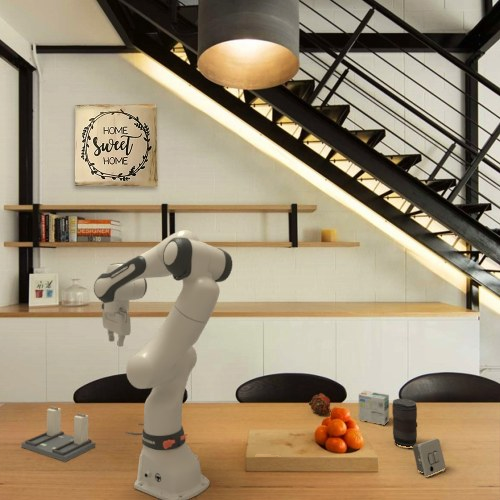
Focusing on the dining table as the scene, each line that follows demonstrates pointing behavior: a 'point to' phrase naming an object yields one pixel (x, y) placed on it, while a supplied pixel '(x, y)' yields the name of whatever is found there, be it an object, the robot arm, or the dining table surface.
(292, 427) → the dining table surface
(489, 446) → the dining table surface
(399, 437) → the camera lens
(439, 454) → the electrical switch
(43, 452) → the grey rectangular board
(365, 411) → the light bulb box
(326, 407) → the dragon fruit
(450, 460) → the dining table surface
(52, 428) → the tab far
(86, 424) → the tab near
